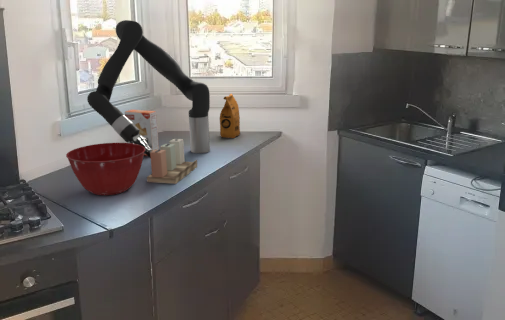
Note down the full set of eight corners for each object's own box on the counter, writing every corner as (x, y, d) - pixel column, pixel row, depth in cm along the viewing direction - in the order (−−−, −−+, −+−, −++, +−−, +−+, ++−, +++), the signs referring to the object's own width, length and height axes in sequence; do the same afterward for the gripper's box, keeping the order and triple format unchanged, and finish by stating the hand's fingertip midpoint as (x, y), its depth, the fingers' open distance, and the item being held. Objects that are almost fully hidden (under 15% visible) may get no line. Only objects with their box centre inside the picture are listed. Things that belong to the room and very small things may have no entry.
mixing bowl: (110, 174, 215) (107, 138, 210) (163, 184, 201) (160, 146, 196) (55, 195, 192) (49, 155, 187) (110, 208, 177) (105, 165, 173)
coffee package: (217, 137, 273) (215, 96, 267) (225, 132, 284) (224, 93, 278) (234, 138, 270) (233, 97, 263) (242, 133, 281) (241, 93, 275)
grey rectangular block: (170, 163, 220) (169, 140, 217) (175, 161, 224) (173, 138, 221) (180, 164, 219) (179, 141, 216) (184, 161, 223) (183, 138, 220)
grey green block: (161, 170, 211) (160, 146, 209) (166, 166, 216) (164, 143, 213) (171, 170, 210) (170, 146, 207) (176, 167, 214) (174, 143, 211)
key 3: (152, 176, 203) (150, 151, 200) (157, 173, 207) (155, 148, 204) (162, 177, 202) (160, 152, 199) (167, 173, 206) (165, 149, 203)
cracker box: (127, 154, 245) (123, 111, 239) (135, 151, 250) (131, 109, 244) (152, 156, 240) (149, 112, 234) (159, 153, 245) (156, 110, 239)
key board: (175, 183, 201) (175, 176, 200) (147, 181, 204) (146, 174, 203) (197, 166, 222) (197, 159, 221) (171, 165, 225) (170, 158, 224)
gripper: (122, 126, 206) (153, 156, 206) (138, 119, 218) (166, 148, 218) (112, 138, 208) (142, 168, 209) (128, 131, 221) (156, 159, 221)
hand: (154, 158), depth 213 cm, fingers closed
